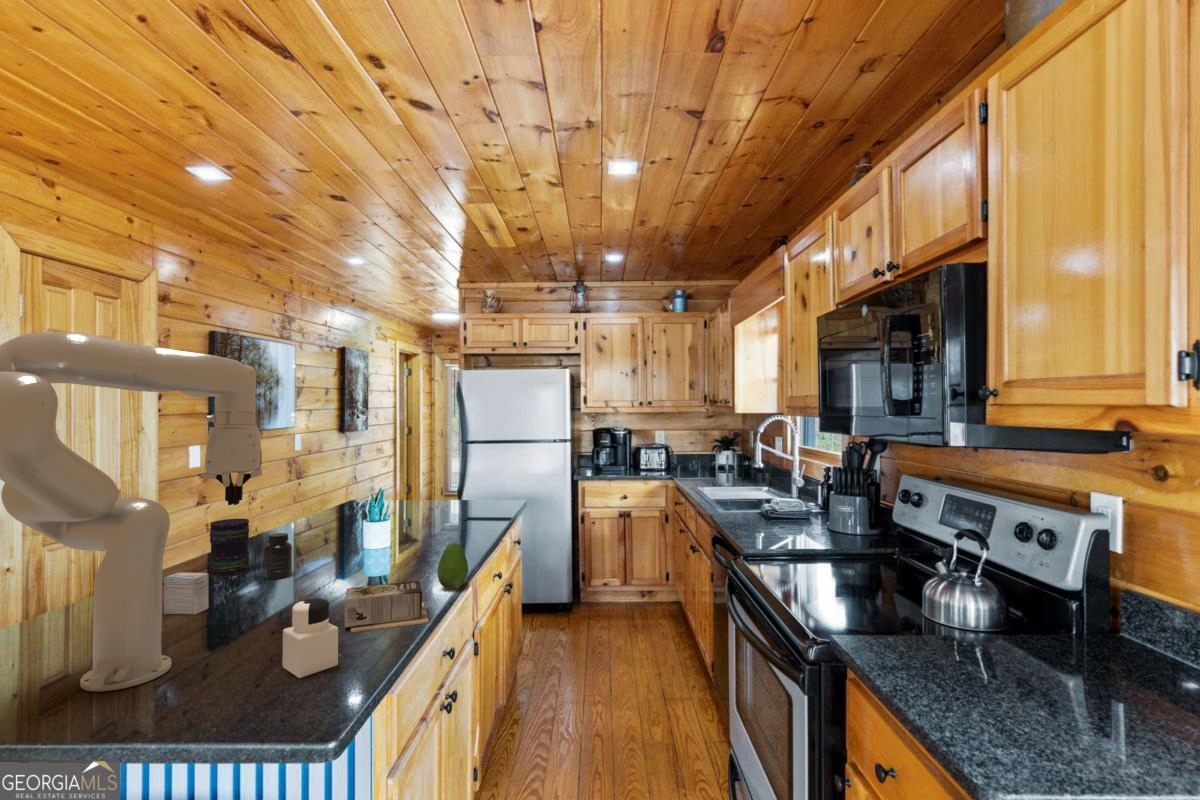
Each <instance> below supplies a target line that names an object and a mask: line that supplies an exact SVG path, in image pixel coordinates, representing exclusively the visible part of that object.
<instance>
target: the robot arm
mask: <svg viewBox="0 0 1200 800" xmlns="http://www.w3.org/2000/svg"><path fill="white" fill-rule="evenodd" d="M256 377H257V374H256V369H255V368H254V367H253V366H251V365H247V364H243V363H242V362H240V361H239V360H237V359H234V358H233V359H232V358H229V357H224V356H219V355H214V354H208V353H207V354H206V353H200V352H192V351H184V350H178V349H173V348H165V347H159V346H150V345H145V344H139V343H135V342H130V341H125V340H118V339H113V338H109V337H105V336H104V337H103V336H100V335H93V334H88V333H84V332H83V333H82V332H76V331H55V332H54V331H53V332H29V333H26V334H22V335H19V336H15V337H14V338H11V339H10V340H8V341H5V342H3V343H1V344H0V480H1V481H2V482H4V484H3V486H2V488H1V496H0V497H1V503H2V505H3V508H5V511H6V512H7V513H8V514H9V515H10V516H11V517H12V518H13V519H15V520H16V521H18V522H20V523H22V524H23V525H25V526H27V527H29V528H30V529H32V530H34V531H36V532H38V533H40V534H42V535H43V536H45V537H46V538H49V539H50V540H53V541H55V542H56V543H58V544H60V545H63V546H65V547H68V548H70V549H74V550H82V551H91V552H92V551H95V552H105V553H104V556H103V558H102V560H101V563H99V566H98V567H97V570H96V572H95V576H94V579H93V622H92V623H93V628H92V629H93V631H92V632H93V633H92V634H93V635H92V636H93V637H92V638H93V639H92V669H91V670H89V671H88V672H86V673H84V674H83V676H81V678H80V682H79V687H80V688H81V689H83V690H84V691H88V692H109V691H116V690H122V689H127V688H131V687H134V686H138V685H142V684H144V683H147V682H150V681H152V680H155V679H157V678H159V677H160V676H162V675H164V674H166V673H167V672H168V671H170V669H171V667H172V658H171V657H169V656H167V655H163V654H162V621H163V619H162V614H163V610H162V609H163V608H162V607H163V563H164V553H165V549H166V543H167V540H168V535H169V531H170V526H171V525H170V524H171V519H170V515H169V512H168V511H167V509H166V508H165V507H164V506H163V505H162V503H161V504H160V502H157V501H155V500H152V499H148V498H142V497H127V496H125V497H124V496H123V497H121V496H120V495H119V494H120V493H119V488H118V486H117V484H116V482H115V481H114V480H113V479H112V478H111V477H110V476H109V475H108V474H106V473H105V472H104V471H102V470H101V469H100V468H98V467H96V466H95V465H94V464H92V463H91V462H90V461H88V460H87V459H84V458H83V457H82V456H80V455H79V454H78V453H76V452H75V451H73V450H72V449H71V448H69V447H68V446H67V445H66V444H65V443H64V442H63V441H61V439H60V438H59V436H58V433H57V428H56V427H57V415H58V411H59V399H58V398H59V397H58V395H57V392H56V390H55V388H54V387H53V385H51V384H71V385H83V386H91V387H101V388H109V389H119V390H127V391H134V392H150V393H159V392H160V393H169V392H180V393H181V394H184V395H185V396H189V397H195V398H196V397H197V398H198V397H199V398H201V397H202V398H203V397H206V398H207V397H209V398H210V397H215V399H214V402H215V403H214V411H215V412H213V414H210V415H209V414H208V415H207V416H206V420H207V422H211V423H213V425H214V426H212V427H209V431H208V434H207V440H206V448H205V455H204V457H205V458H204V469H205V474H204V478H205V479H206V478H207V479H212V480H217V481H218V482H219V483H220V484H221V485H223V487H225V488H224V489H225V490H224V491H225V492H224V498H225V499H224V500H225V502H227V506H232V505H233V506H237V505H238V504H240V501H242V500H243V496H244V495H243V494H244V493H243V492H244V491H243V490H244V489H243V488H244V487H243V486H244V485H245V483H247V482H248V481H249V480H250V479H254V478H258V477H261V476H262V475H263V470H262V469H263V468H262V463H263V460H262V459H263V458H262V456H263V455H262V452H263V451H262V443H261V434H260V430H259V429H260V428H259V427H258V426H256V392H257V391H256V388H257V386H256V385H257V384H256V381H257V378H256ZM233 473H235V474H237V476H236V481H235V482H233V477H232V474H233Z"/></svg>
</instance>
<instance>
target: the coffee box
mask: <svg viewBox="0 0 1200 800" xmlns="http://www.w3.org/2000/svg"><path fill="white" fill-rule="evenodd" d="M345 590H346V591H345V597H344V628H351V627H353V626H361V625H369V624H378V623H386V622H394V621H403V620H410V619H418V618H422V599H423V589H422V585H421V582H420V580H414V581H413V580H412V581H411V580H410V581H401V582H394V583H386V584H385V583H384V584H379V585H375V584H374V585H366V586H360V587H350V588H346V589H345Z"/></svg>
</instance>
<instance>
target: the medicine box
mask: <svg viewBox="0 0 1200 800" xmlns="http://www.w3.org/2000/svg"><path fill="white" fill-rule="evenodd" d="M163 585H164V586H163V614H164V615H165V614H167V615H192V616H193V615H197V614H199V613H200V614H201V613H202V612H204V611H207V610H208V609H209V573H208V572H176V573H174V574H170V575H167V576H166V577H164V579H163Z"/></svg>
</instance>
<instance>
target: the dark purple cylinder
mask: <svg viewBox="0 0 1200 800" xmlns="http://www.w3.org/2000/svg"><path fill="white" fill-rule="evenodd" d="M249 523H250V520H249V519H248V518H228V519H226V518H225V519H219V520H214V521H212V522H210V523H209V525H210V526H209V527H210V529H209V531H210V532H209V542H210V556H209V562H208V563H209V564H208V566H209V577H212V578H229V577H235V576H239V575H242V574H246V573H248V572H249V563H250V557H249V555H250V553H249V552H250V551H248V550H249V548H248V546H249V545H248V544H249V541H248V540H249V539H250V524H249Z"/></svg>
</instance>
